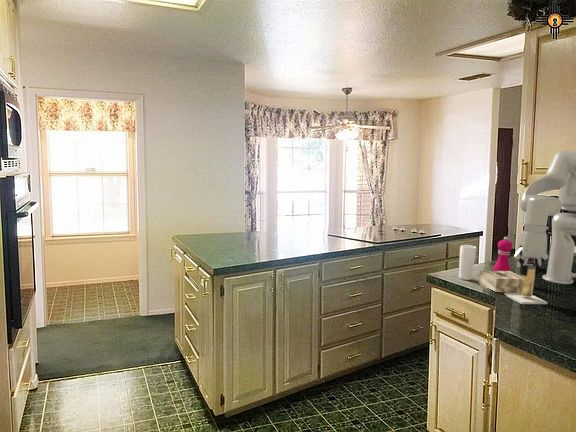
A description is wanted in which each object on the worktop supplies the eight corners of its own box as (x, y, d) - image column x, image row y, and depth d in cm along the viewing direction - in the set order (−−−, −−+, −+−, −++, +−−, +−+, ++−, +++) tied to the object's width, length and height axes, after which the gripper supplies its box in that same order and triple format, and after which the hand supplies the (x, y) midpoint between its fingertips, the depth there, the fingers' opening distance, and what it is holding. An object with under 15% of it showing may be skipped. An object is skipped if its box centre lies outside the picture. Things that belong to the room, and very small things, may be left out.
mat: (528, 295, 193) (528, 293, 193) (547, 304, 182) (547, 302, 182) (504, 294, 191) (504, 292, 191) (521, 304, 180) (521, 302, 180)
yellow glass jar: (527, 293, 189) (531, 263, 187) (534, 296, 185) (538, 266, 183) (517, 292, 188) (521, 263, 186) (524, 296, 184) (528, 266, 182)
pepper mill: (511, 283, 210) (516, 238, 207) (493, 281, 211) (499, 237, 208) (507, 278, 217) (512, 236, 214) (490, 277, 218) (495, 234, 215)
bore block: (508, 284, 207) (509, 271, 206) (525, 293, 195) (527, 279, 195) (478, 284, 205) (480, 270, 204) (494, 292, 193) (496, 278, 192)
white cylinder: (453, 277, 214) (457, 244, 212) (465, 276, 217) (468, 244, 214) (464, 281, 208) (468, 248, 206) (476, 280, 211) (480, 247, 208)
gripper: (547, 227, 188) (541, 272, 190) (509, 226, 185) (503, 271, 187) (561, 231, 180) (554, 277, 183) (521, 230, 177) (515, 277, 180)
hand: (528, 274), depth 185 cm, fingers closed on yellow glass jar, 4 cm apart
